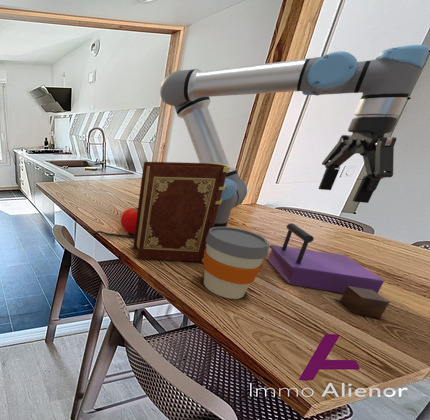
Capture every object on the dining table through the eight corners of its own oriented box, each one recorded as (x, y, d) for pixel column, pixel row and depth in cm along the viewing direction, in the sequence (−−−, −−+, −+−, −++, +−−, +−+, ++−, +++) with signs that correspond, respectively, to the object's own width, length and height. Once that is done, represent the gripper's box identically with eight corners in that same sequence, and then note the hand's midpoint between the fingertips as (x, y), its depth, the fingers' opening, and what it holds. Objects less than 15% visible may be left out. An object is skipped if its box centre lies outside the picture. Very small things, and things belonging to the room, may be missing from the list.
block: (353, 313, 56) (361, 297, 54) (339, 300, 60) (347, 285, 58) (380, 318, 54) (389, 302, 53) (364, 305, 58) (372, 289, 57)
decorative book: (199, 250, 83) (219, 163, 74) (211, 263, 76) (235, 167, 66) (132, 247, 85) (143, 161, 76) (137, 259, 78) (150, 165, 68)
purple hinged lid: (290, 268, 65) (302, 237, 62) (268, 246, 77) (277, 219, 74) (383, 283, 59) (401, 249, 56) (344, 257, 71) (357, 228, 68)
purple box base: (288, 283, 66) (294, 269, 65) (267, 260, 78) (272, 247, 76) (374, 298, 61) (383, 283, 59) (338, 271, 72) (344, 257, 71)
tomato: (150, 240, 91) (154, 214, 87) (118, 236, 94) (121, 211, 91) (148, 228, 102) (152, 205, 98) (120, 224, 105) (123, 202, 101)
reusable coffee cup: (235, 310, 56) (253, 253, 51) (186, 281, 67) (196, 231, 62) (263, 294, 62) (281, 241, 57) (213, 269, 72) (225, 223, 67)
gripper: (451, 115, 51) (400, 210, 58) (355, 118, 73) (326, 186, 80) (402, 115, 53) (359, 206, 60) (323, 117, 75) (298, 184, 83)
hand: (340, 195), depth 70 cm, fingers open, 13 cm apart
